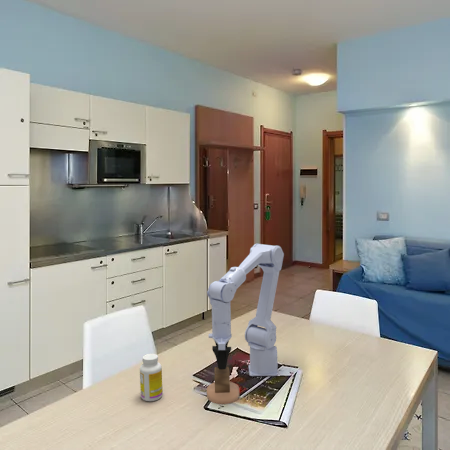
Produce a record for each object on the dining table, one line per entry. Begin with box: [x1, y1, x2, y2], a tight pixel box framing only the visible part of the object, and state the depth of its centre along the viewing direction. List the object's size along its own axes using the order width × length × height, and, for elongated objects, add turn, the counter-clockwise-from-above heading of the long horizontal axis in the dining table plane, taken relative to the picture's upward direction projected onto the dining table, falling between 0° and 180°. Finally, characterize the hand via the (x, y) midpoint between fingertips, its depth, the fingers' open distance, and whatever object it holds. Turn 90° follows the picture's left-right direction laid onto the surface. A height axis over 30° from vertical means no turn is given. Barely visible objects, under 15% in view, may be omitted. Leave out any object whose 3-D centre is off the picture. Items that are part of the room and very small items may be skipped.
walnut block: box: [214, 366, 231, 393], centre depth 129 cm, size 4×4×6 cm
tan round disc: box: [206, 381, 240, 405], centre depth 129 cm, size 10×10×2 cm
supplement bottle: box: [139, 353, 163, 402], centre depth 129 cm, size 7×7×13 cm
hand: (222, 363), depth 129 cm, fingers open, 7 cm apart
